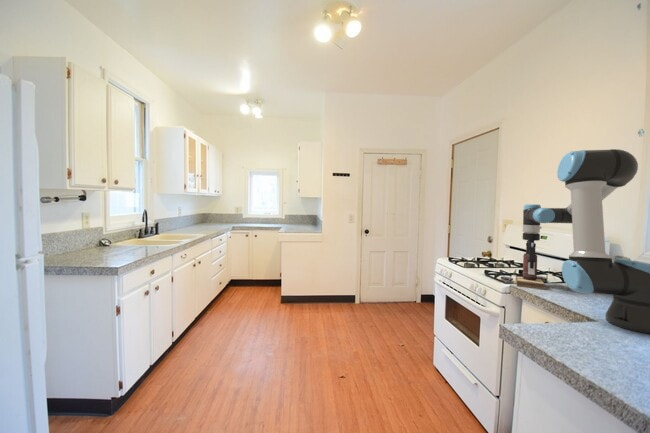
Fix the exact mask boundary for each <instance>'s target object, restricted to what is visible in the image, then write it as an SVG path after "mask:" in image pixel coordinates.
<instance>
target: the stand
mask: <svg viewBox="0 0 650 433" xmlns="http://www.w3.org/2000/svg"><path fill="white" fill-rule="evenodd" d="M515 285H516V287H520V288H527V289H528V288H529V289H536V290H543V291H546V284H545V282H544V280H543V279H541V278H537V279H536V280H526V279H524V278H523V276H515Z"/></svg>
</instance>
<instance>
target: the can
mask: <svg viewBox="0 0 650 433" xmlns="http://www.w3.org/2000/svg"><path fill="white" fill-rule="evenodd" d="M522 258H523V259H522V260H523V261H522V277H523V278H524V279H526V280H536V279H538V277H537V274H538V273H537V272H538V255H537V254H536V253H535V260H536V261H535V275H531V274H528V262H527V260H529V253H526V252H525V253H524V254H523V256H522Z"/></svg>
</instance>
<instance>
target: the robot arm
mask: <svg viewBox="0 0 650 433" xmlns="http://www.w3.org/2000/svg"><path fill="white" fill-rule="evenodd" d="M638 169H639V163H638V161H637V158H636V157H635V156H634V155H633V154H631V153H630V152H628V151H626V150H622V149H615V148H613V149H588V150H587V149H586V150H585V149H583V150H575V151H569V152H567V153H565V154H564V156H563V157H561V160H560V162H559V163H558V167H557V172H556V173H557V174H556V175H557V178H558V180H559V181H560V182H564V184H565V186H564V187H565V188H566V189H568V190H569V191H570V202H571V203H570V204H568V206H567V207H561V208H560V207H551V208H550V207H541V205H540V204H530V203H529V204H524V205H523V209H522V210H523V211H522V217H523V218H522V232H523V233H522V240H523V241H526V243H525V245H526V247H525V249H526V251H525V253H529V260H527V262H528V274H531V275H535V261H536V260H535V254H536V245H537V244H536V243H535V241H536V242H537V241H540V240H541V234H540V232H541V230H542V227H541V224H572V240H573V243H572V244H573V252H571V253H570V254H568V260H564V261H563V263H562V266H561V274H562V279H563V281H564V283H565V284H566V285H567V287H569V289H570V290H572V291H574V292H576V293H581V294H582V293H583V294H588V295H591V294H594V295H607V296H612V301H611V303H610V305H609V307H608V308H607V310H606V312H605V320H606V322H608V323H609V322H610V323H609V324H611V323H612V325H614V326H616V327H620V328H623V329H626V330H630V331H632V332H633V331H634V332H638V333H643V334H650V263H648V262H642V261H638V260H637V261H636V260H632V259H626V258H625V259H623V258H615V259H614V261H613V259H612V258H613V257H612V256H610V255H609V254H607V253H606V240H605V225H604V224H605V223H604V211H603V210H604V209H603V201H604V200H605V199H606V198H608V197H609V196H610V195H611V194H612V193H614V192H615V190H617V189H619V188H621V187H624V186H626V185H627V184H628V183H630V182H632V180H633V179H634V178H635V176H636V174H637V172H638Z"/></svg>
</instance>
